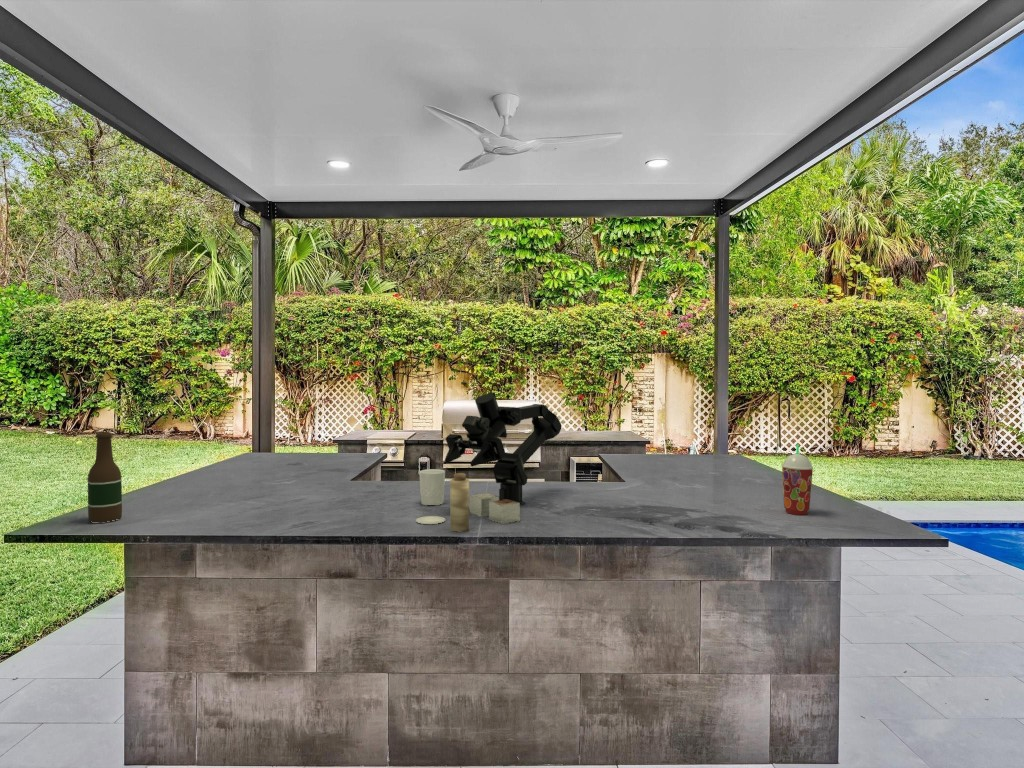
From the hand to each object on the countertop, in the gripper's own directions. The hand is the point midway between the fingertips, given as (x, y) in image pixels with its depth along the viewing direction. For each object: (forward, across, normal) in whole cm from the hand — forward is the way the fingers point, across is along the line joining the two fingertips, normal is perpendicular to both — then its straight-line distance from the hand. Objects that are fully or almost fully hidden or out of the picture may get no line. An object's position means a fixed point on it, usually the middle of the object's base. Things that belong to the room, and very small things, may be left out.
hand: (458, 463), depth 171 cm
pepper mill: (+14, +7, +11) cm, 19 cm away
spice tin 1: (-2, +1, +19) cm, 19 cm away
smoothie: (-50, +74, +44) cm, 100 cm away
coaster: (+12, -5, +12) cm, 17 cm away
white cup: (-2, -20, +19) cm, 28 cm away
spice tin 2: (+1, +11, +17) cm, 20 cm away
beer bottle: (+58, -77, -12) cm, 98 cm away
